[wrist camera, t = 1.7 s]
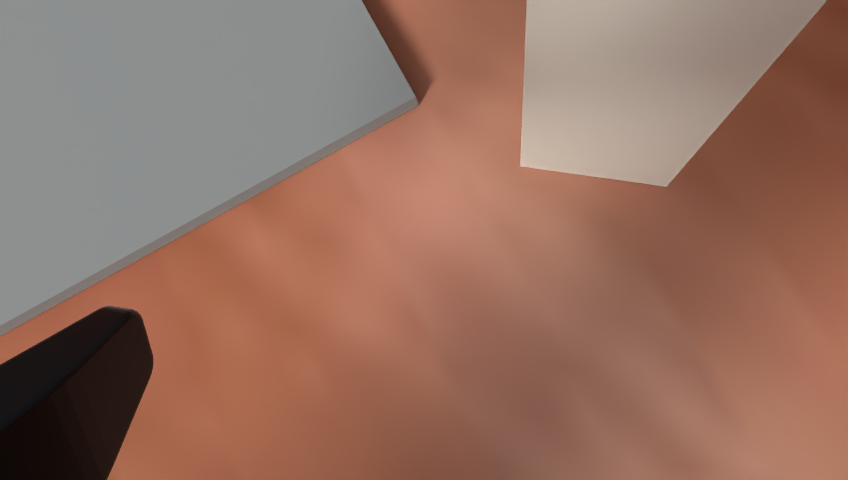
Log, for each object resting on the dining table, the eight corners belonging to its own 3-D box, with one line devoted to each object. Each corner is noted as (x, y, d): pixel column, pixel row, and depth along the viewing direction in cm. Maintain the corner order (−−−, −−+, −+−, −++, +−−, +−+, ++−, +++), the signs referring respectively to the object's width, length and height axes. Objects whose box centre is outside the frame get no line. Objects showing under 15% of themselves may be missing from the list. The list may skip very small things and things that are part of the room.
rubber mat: (-8, 340, 25) (-25, 339, 24) (-159, -43, 28) (-179, -55, 27) (418, 105, 24) (416, 96, 24) (216, -256, 28) (207, -274, 27)
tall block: (666, 186, 23) (857, -34, 10) (520, 166, 24) (529, -66, 11) (684, 49, 24) (884, -319, 11) (541, 32, 24) (574, -334, 12)
